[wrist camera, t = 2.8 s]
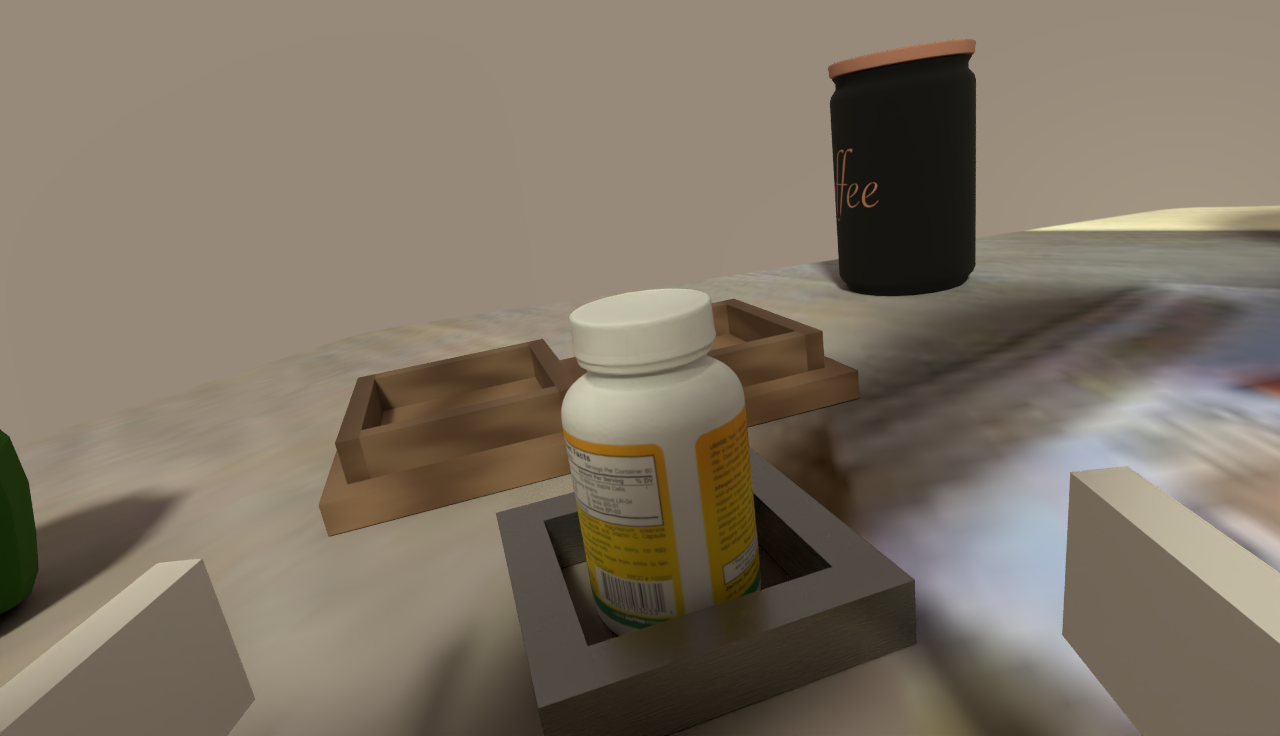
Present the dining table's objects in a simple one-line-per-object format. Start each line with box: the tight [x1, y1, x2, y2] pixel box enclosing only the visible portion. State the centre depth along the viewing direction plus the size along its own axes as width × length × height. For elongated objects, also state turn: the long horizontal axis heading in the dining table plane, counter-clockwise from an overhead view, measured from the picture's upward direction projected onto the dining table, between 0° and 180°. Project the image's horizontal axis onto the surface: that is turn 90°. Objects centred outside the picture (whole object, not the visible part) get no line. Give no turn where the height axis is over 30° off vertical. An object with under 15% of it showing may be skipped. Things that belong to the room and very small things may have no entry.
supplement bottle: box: [561, 289, 761, 636], centre depth 20 cm, size 5×5×10 cm
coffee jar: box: [828, 39, 976, 296], centre depth 56 cm, size 11×11×18 cm
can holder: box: [496, 447, 916, 736], centre depth 22 cm, size 10×10×2 cm
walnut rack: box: [319, 299, 859, 536], centre depth 38 cm, size 26×14×4 cm, turn 107°
